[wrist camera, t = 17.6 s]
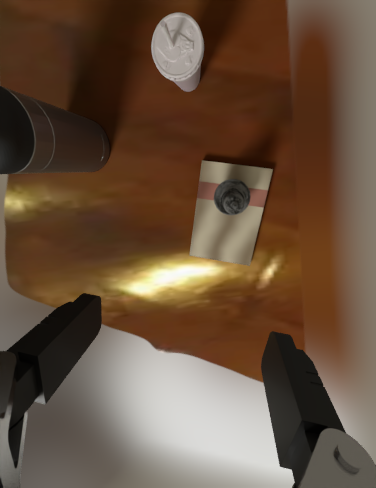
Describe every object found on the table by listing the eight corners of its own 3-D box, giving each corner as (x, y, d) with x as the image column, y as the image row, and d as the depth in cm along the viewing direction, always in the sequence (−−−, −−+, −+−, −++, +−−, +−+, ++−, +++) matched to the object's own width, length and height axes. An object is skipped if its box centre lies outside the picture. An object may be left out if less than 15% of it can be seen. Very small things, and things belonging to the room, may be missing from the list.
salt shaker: (248, 176, 37) (259, 179, 26) (248, 210, 39) (258, 227, 28) (213, 179, 38) (209, 183, 27) (215, 212, 40) (212, 229, 29)
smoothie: (169, 54, 34) (136, -18, 21) (210, 52, 33) (201, -23, 20) (169, 101, 36) (138, 63, 23) (207, 101, 35) (198, 61, 22)
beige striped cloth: (190, 253, 45) (189, 255, 43) (202, 160, 38) (202, 160, 37) (248, 263, 43) (249, 265, 42) (271, 169, 37) (273, 169, 36)
